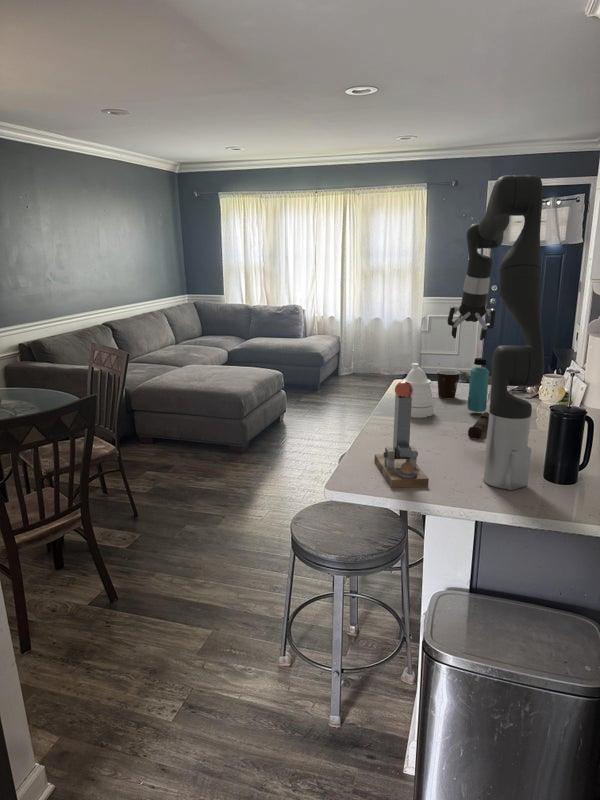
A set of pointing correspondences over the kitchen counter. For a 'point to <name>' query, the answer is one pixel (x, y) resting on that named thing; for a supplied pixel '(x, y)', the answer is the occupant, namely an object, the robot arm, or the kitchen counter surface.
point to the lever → (402, 420)
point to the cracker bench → (398, 480)
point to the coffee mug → (447, 383)
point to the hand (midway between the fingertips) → (467, 338)
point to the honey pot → (420, 392)
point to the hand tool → (479, 426)
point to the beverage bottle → (478, 387)
